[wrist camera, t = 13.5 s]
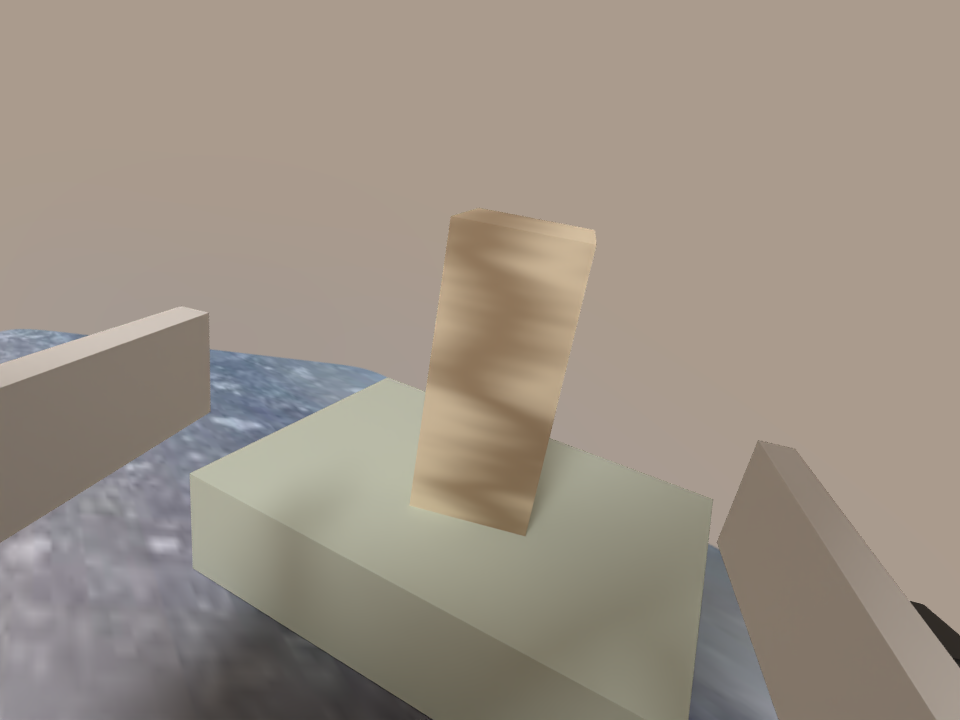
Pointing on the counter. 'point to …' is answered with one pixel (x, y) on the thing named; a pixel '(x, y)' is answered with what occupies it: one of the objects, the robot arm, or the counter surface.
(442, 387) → the birch block
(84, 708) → the counter surface
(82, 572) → the counter surface
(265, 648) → the counter surface
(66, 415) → the robot arm
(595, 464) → the block
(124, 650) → the counter surface
